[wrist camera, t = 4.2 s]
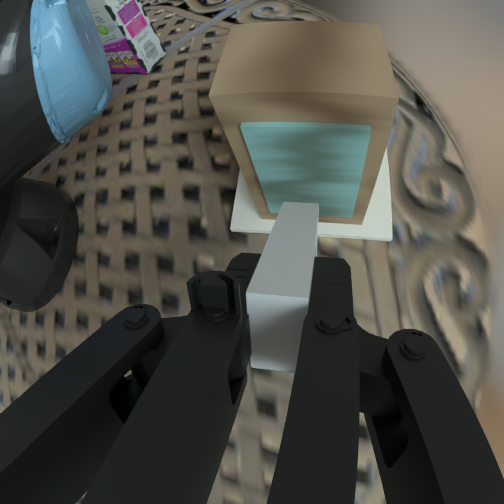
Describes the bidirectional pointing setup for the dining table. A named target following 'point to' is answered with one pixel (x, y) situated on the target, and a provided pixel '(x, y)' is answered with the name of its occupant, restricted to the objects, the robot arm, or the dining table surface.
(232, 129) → the tan box
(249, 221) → the rubber mat
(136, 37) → the candy bar box
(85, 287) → the dining table surface
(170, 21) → the dining table surface
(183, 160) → the dining table surface
